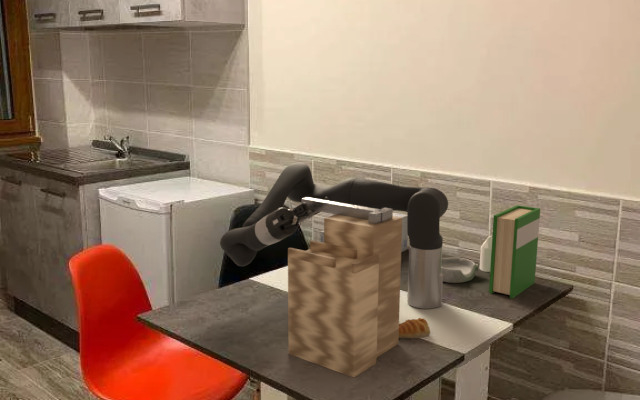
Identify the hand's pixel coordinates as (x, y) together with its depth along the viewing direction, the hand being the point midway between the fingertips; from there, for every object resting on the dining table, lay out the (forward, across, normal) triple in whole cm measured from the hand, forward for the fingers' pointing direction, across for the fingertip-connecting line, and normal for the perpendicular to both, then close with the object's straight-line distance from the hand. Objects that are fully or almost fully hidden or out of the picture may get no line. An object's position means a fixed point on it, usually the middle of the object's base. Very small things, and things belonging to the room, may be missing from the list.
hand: (317, 203), depth 161 cm
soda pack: (-39, -59, -16) cm, 73 cm away
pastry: (0, -14, -40) cm, 42 cm away
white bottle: (-6, -76, -36) cm, 84 cm away
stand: (-6, +4, -35) cm, 36 cm away
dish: (-11, -61, -33) cm, 70 cm away
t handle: (+6, 0, -5) cm, 8 cm away
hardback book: (+6, -63, -42) cm, 76 cm away
